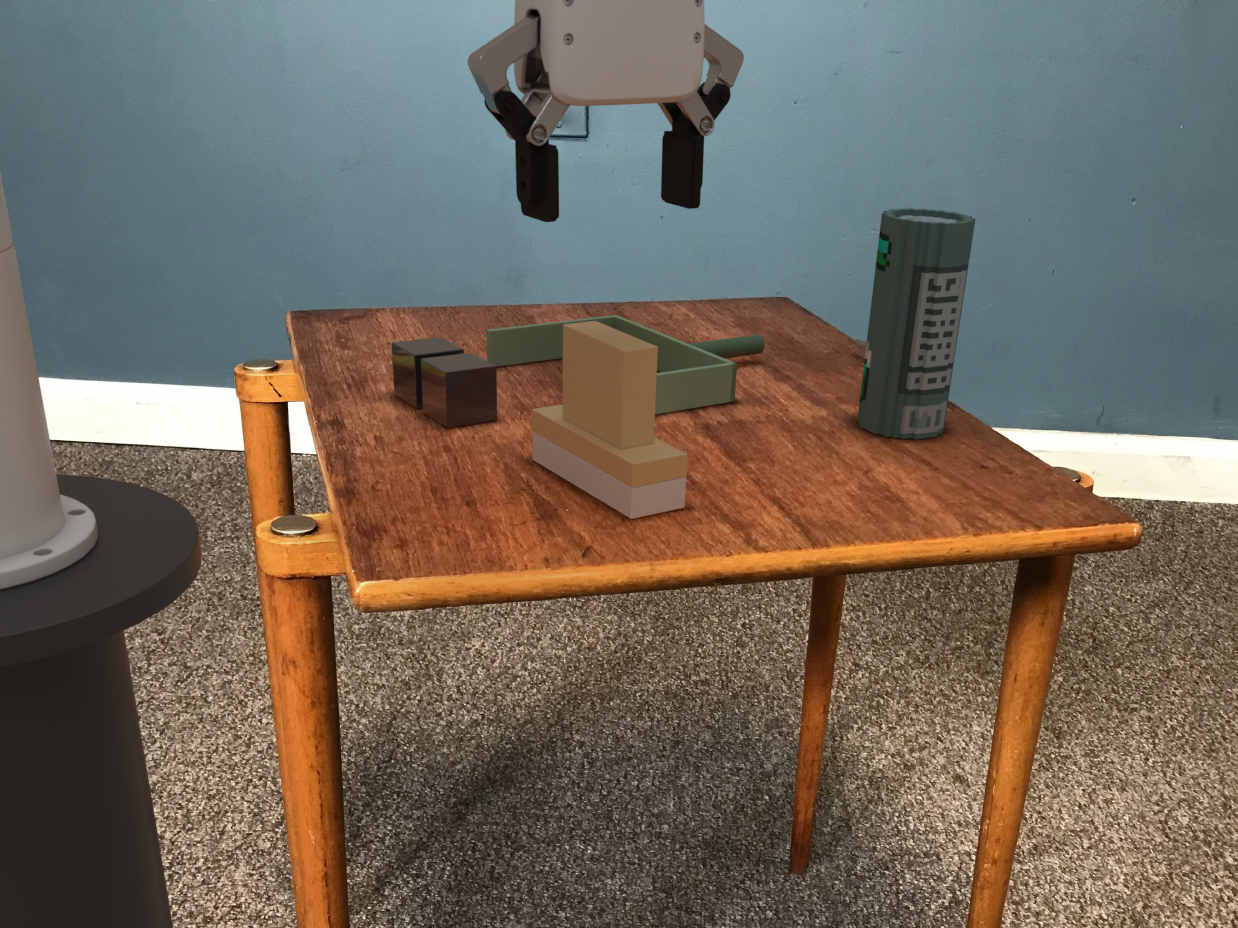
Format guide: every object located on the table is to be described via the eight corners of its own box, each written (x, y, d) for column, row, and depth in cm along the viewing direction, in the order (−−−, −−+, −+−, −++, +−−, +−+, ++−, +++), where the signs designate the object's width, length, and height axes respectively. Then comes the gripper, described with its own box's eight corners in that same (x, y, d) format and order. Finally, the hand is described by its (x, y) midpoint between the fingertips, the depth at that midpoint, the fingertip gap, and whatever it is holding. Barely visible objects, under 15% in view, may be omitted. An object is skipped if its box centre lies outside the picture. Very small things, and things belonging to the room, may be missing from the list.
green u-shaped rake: (597, 424, 94) (598, 383, 93) (486, 366, 106) (486, 329, 105) (822, 387, 105) (826, 350, 104) (699, 338, 117) (701, 304, 116)
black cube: (447, 428, 92) (445, 372, 90) (422, 413, 95) (420, 358, 93) (497, 420, 94) (496, 365, 92) (471, 405, 97) (470, 352, 95)
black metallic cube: (416, 409, 95) (414, 355, 93) (393, 394, 98) (390, 342, 96) (465, 402, 97) (464, 349, 96) (441, 388, 100) (440, 336, 98)
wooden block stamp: (631, 519, 78) (636, 363, 74) (531, 459, 87) (531, 316, 82) (685, 508, 80) (693, 355, 76) (583, 450, 89) (585, 310, 84)
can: (907, 410, 101) (934, 207, 94) (958, 433, 96) (991, 221, 89) (843, 418, 98) (866, 210, 91) (892, 442, 93) (921, 225, 86)
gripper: (706, -122, 75) (694, 191, 83) (430, -140, 66) (448, 213, 74) (789, -126, 69) (768, 210, 77) (501, -146, 60) (512, 235, 68)
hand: (612, 211), depth 76 cm, fingers open, 9 cm apart
